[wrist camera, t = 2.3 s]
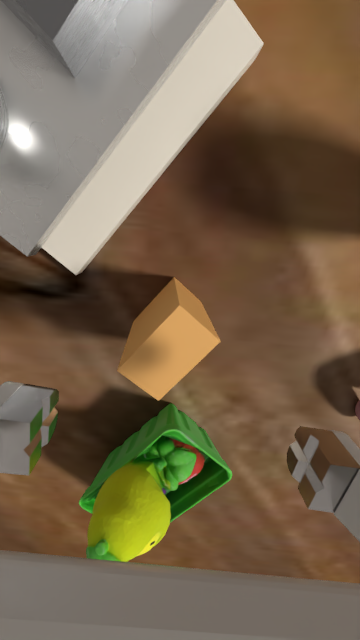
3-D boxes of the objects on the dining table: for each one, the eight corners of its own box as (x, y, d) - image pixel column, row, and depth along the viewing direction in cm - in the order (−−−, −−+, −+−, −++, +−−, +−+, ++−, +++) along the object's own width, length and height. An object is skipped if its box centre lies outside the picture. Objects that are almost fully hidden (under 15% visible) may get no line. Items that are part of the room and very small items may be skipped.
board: (82, 271, 20) (75, 275, 18) (-138, 92, 16) (-168, 79, 14) (255, 59, 16) (263, 43, 15) (29, -253, 12) (10, -318, 10)
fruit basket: (145, 491, 28) (133, 650, 18) (80, 448, 26) (22, 603, 15) (223, 430, 26) (265, 569, 15) (161, 377, 24) (159, 499, 13)
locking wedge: (160, 342, 22) (158, 400, 15) (133, 321, 22) (116, 370, 14) (200, 301, 21) (220, 341, 14) (173, 276, 20) (179, 305, 13)
